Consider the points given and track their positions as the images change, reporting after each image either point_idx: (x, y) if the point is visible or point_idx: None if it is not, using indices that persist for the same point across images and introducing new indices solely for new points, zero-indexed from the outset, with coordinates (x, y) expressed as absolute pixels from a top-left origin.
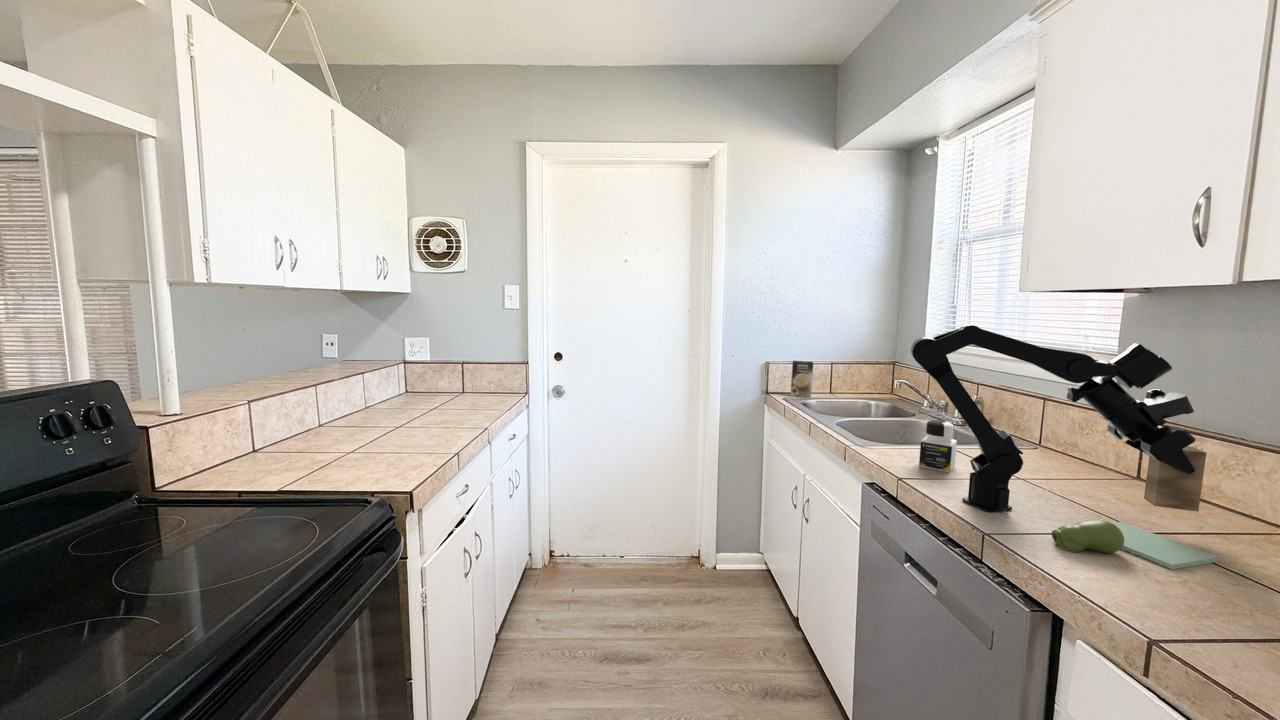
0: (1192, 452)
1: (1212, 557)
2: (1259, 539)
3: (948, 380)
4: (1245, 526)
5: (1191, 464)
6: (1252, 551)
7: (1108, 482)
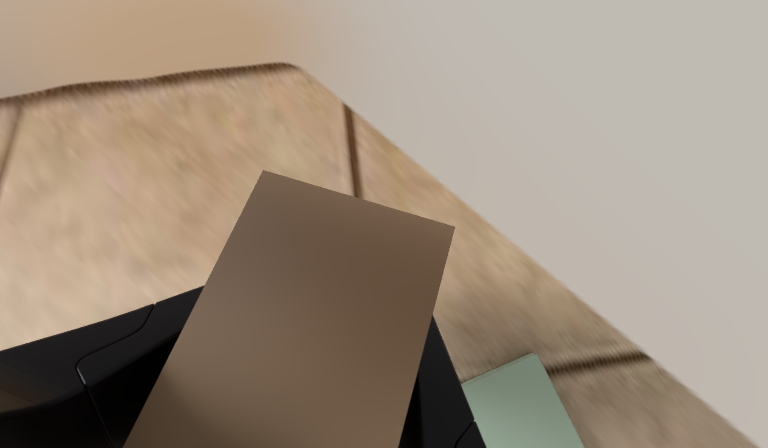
0: (428, 324)
1: (546, 375)
2: (380, 148)
3: None
4: (313, 116)
5: (442, 341)
6: (448, 217)
7: (23, 190)
